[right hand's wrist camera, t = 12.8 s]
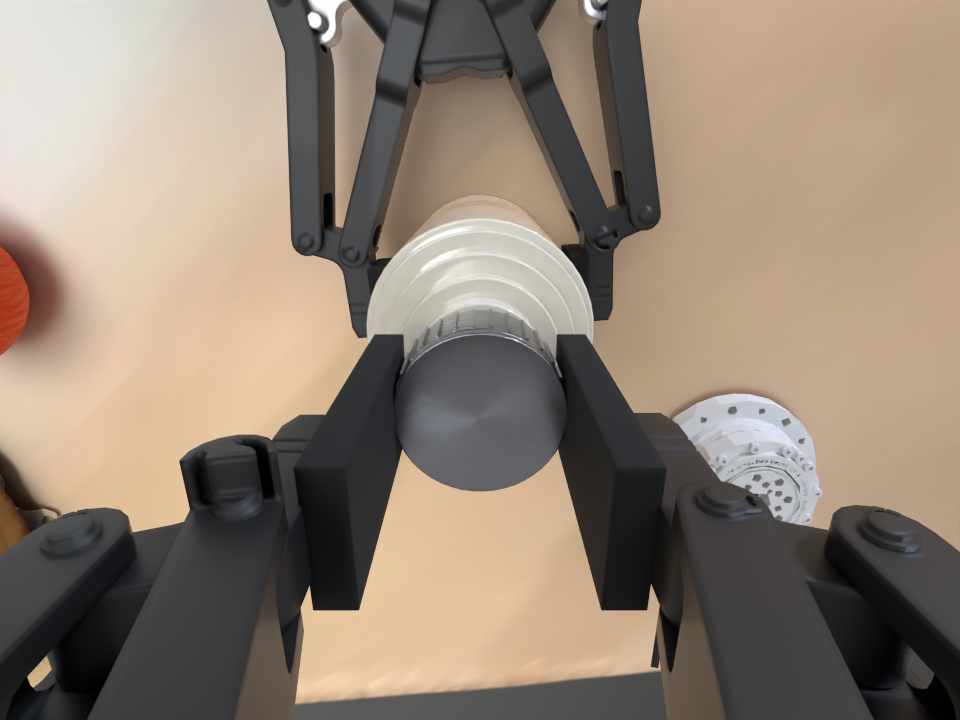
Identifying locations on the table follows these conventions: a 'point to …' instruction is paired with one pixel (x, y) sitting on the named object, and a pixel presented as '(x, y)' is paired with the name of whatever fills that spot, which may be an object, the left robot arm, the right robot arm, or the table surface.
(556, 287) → the bottle
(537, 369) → the cap
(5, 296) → the apple
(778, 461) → the mechanical component
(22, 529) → the bread
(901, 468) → the table surface
